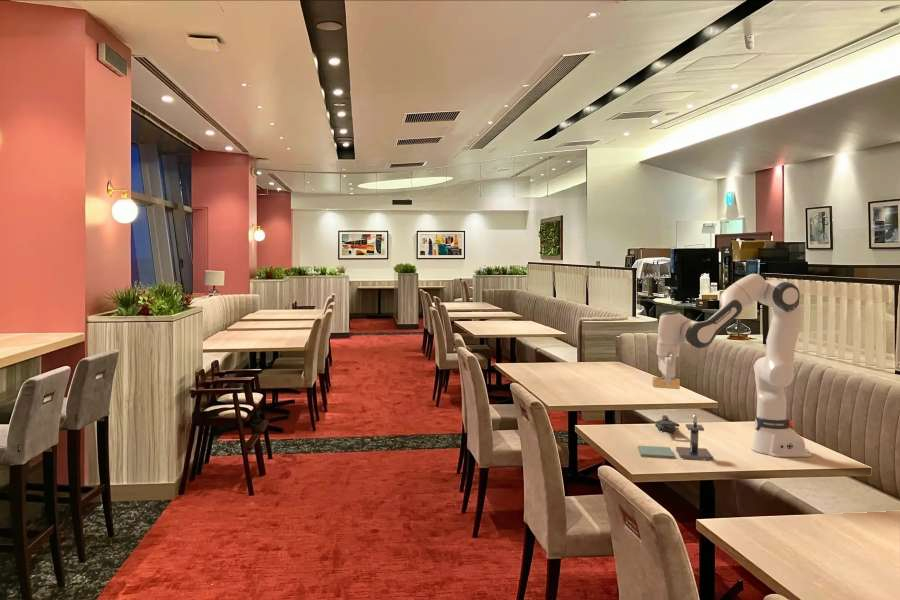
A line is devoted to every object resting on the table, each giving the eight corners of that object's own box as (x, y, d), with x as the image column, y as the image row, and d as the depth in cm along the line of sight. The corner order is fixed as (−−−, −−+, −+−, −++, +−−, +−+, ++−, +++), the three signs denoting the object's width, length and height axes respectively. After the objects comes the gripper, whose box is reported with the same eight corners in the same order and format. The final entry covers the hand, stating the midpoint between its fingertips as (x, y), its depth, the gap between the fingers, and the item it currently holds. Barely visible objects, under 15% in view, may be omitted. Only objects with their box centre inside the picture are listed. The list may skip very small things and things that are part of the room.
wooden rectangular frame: (677, 387, 279) (677, 378, 279) (679, 389, 275) (680, 380, 274) (652, 385, 281) (652, 376, 281) (653, 387, 276) (654, 378, 276)
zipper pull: (660, 423, 305) (654, 411, 329) (659, 438, 305) (654, 424, 329) (681, 424, 303) (674, 412, 327) (680, 439, 303) (673, 426, 328)
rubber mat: (669, 449, 286) (669, 447, 286) (674, 458, 273) (674, 456, 273) (637, 447, 288) (637, 445, 288) (641, 456, 275) (641, 454, 275)
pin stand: (706, 452, 283) (707, 412, 282) (712, 460, 271) (713, 419, 270) (676, 450, 285) (677, 411, 284) (680, 458, 273) (682, 417, 272)
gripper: (680, 355, 266) (678, 390, 267) (672, 348, 286) (669, 381, 287) (663, 354, 267) (661, 389, 268) (656, 347, 287) (654, 380, 288)
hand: (665, 384), depth 278 cm, fingers closed on wooden rectangular frame, 5 cm apart
